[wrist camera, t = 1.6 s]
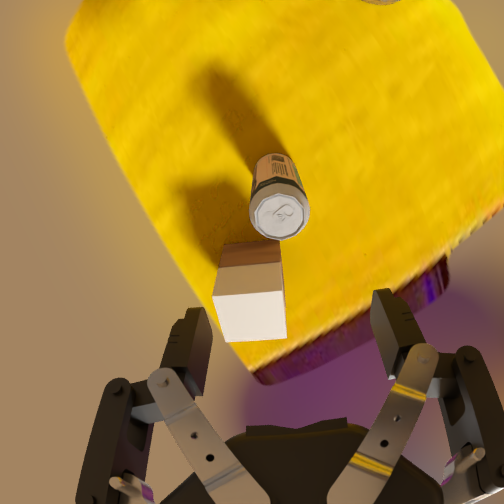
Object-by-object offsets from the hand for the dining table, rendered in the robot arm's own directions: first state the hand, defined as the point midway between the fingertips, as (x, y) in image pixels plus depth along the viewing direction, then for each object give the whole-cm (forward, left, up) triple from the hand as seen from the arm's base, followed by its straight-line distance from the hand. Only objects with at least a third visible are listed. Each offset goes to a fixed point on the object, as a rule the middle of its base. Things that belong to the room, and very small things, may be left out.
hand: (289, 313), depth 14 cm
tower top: (+12, -4, -17) cm, 22 cm away
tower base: (+12, -4, -22) cm, 26 cm away
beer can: (0, 0, -22) cm, 22 cm away
